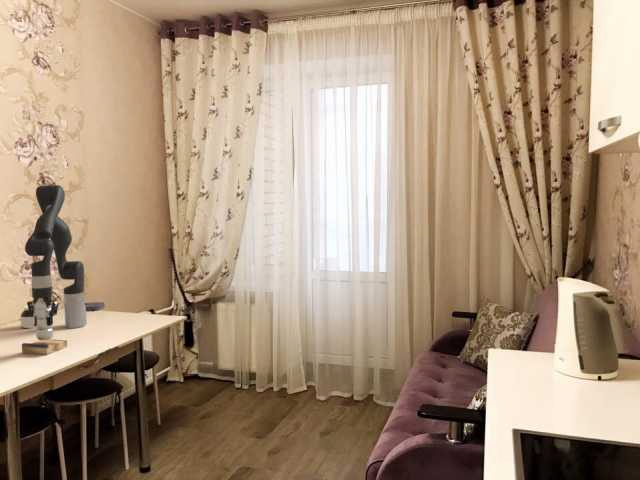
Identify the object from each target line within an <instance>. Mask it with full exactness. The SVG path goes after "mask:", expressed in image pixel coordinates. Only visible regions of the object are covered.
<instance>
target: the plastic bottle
mask: <svg viewBox="0 0 640 480" xmlns="http://www.w3.org/2000/svg"><path fill="white" fill-rule="evenodd" d="M42 302H43V303H42ZM51 307H52V306H51V305H50V304H49V306H47V305H46V303H45V302H44V301H43V298H38V301H37V303H36V304H35V306H34V308H35V312H36V318H37V328H36V331H35V337H36V339H37V340H38V341H40V340H48V339H53V337H54V329H53V326H52V325H53V324H52V325H51V326H47V315H46V312H45V308H46V309H47V310H49V309H51ZM49 314H50V311H49Z"/></svg>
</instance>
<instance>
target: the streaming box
mask: <svg viewBox="0 0 640 480" xmlns="http://www.w3.org/2000/svg"><path fill="white" fill-rule="evenodd" d="M84 305H85V306H86V312H92V311H94V312H98V311H100V310H102V309H103V308H105V302H99V301H97V302H95V301H94V302H84Z"/></svg>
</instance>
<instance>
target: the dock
mask: <svg viewBox="0 0 640 480" xmlns="http://www.w3.org/2000/svg"><path fill="white" fill-rule="evenodd" d="M66 348H68V340H67V339H55V338H51V339H48V340H38V341H33V342H31V343H27V342H23V343H21V354H23V355H38V356H39V355H41V356H42V355H43V356H48V355H50V354H53V353H56V352H58V351H60V350H63V349H66Z"/></svg>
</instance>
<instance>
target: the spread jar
mask: <svg viewBox="0 0 640 480" xmlns="http://www.w3.org/2000/svg"><path fill="white" fill-rule="evenodd" d="M32 312H33V310H32ZM20 326H21V328H22V329H23V328H24V330H28V329H29V330H30V329H37V325H35V320H34V316H33V315H30V314H29V309H28V305H25V306H23V311H22V312H21V313H20Z"/></svg>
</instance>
